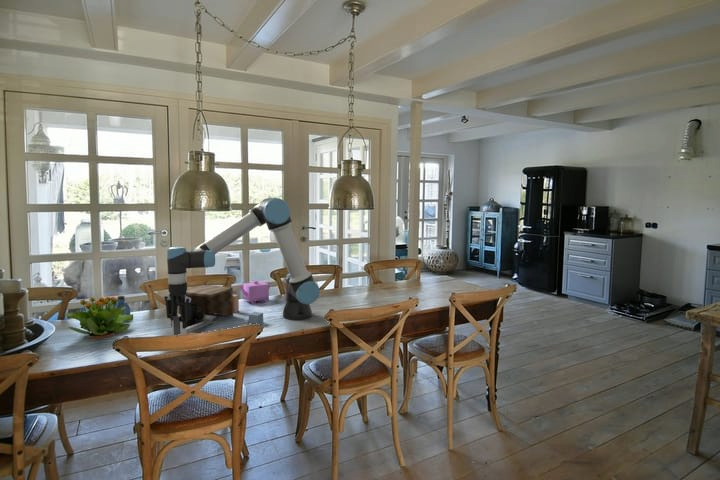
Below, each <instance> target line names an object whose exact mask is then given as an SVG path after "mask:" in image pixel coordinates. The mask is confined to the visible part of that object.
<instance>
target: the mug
mask: <svg viewBox="0 0 720 480" xmlns="http://www.w3.org/2000/svg"><path fill="white" fill-rule="evenodd" d="M197 308H202V313H201V315H200V317H199V318H198V319H197V320H196V315H197ZM203 312H204V307H197V304H194V303H191V319H189V320H187V327H189V326H192V325H195V324H197V323H199V321H200V320H199V319H200V318H201V316H202V314H203ZM178 314H180V309H179V308H178Z"/></svg>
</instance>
